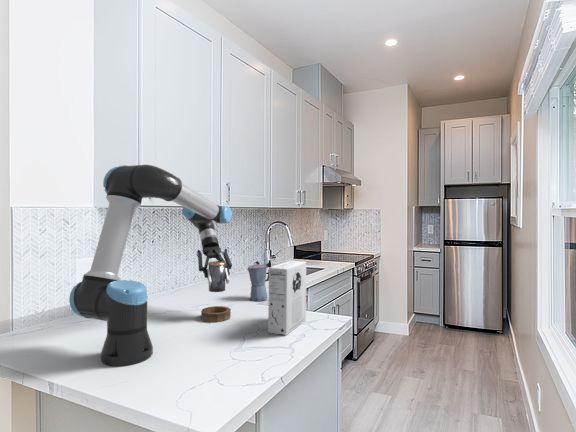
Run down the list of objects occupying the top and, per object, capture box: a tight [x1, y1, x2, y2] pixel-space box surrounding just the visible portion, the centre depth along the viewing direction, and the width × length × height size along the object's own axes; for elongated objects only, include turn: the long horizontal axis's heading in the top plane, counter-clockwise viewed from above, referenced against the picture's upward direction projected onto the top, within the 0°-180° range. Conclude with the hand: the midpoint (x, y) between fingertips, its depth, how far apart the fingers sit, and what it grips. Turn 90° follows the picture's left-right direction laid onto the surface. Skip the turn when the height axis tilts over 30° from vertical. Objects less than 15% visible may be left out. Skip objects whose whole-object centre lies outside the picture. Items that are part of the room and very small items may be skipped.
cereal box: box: [267, 260, 307, 336], centre depth 150 cm, size 22×8×25 cm, turn 157°
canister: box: [208, 260, 226, 293], centre depth 160 cm, size 7×7×12 cm
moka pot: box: [246, 260, 272, 302], centre depth 193 cm, size 10×15×20 cm, turn 137°
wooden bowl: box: [200, 305, 232, 323], centre depth 160 cm, size 12×12×4 cm
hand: (219, 282), depth 157 cm, fingers closed on canister, 7 cm apart
